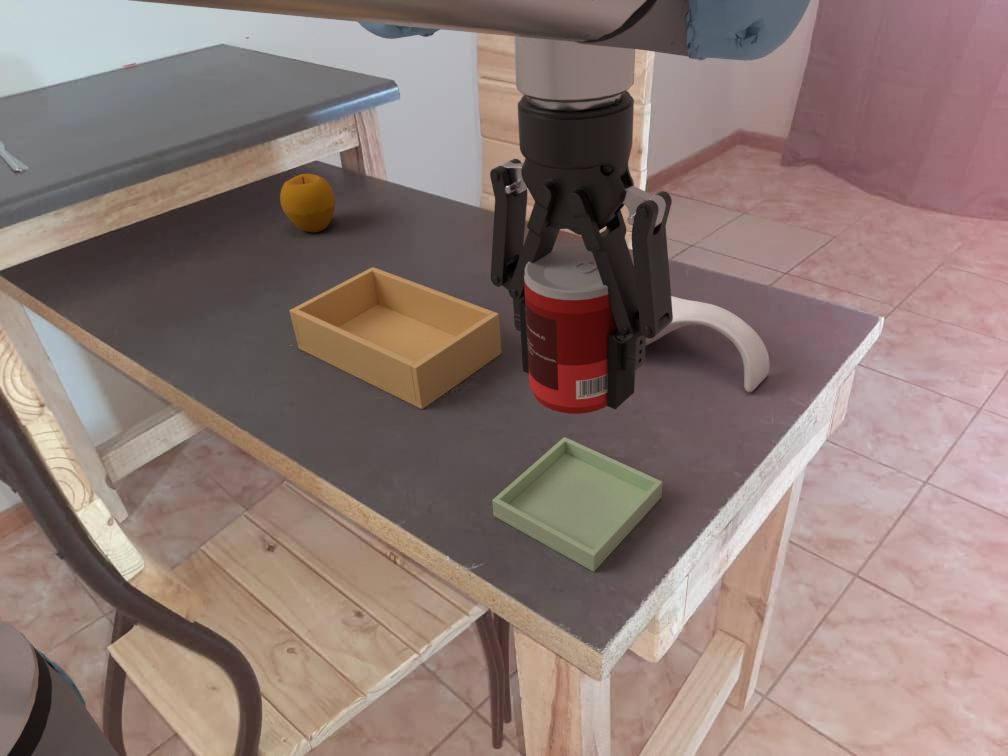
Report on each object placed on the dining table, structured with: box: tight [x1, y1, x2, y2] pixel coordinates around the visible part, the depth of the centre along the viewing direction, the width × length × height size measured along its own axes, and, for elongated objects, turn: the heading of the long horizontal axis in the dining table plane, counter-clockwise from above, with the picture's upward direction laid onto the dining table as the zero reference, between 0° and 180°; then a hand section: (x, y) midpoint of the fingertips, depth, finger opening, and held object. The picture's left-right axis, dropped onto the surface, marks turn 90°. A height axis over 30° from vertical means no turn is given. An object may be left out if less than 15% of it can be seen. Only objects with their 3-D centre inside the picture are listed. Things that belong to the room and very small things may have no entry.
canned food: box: [524, 244, 617, 415], centre depth 60 cm, size 8×8×11 cm
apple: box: [279, 173, 336, 233], centre depth 124 cm, size 8×8×9 cm
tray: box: [491, 436, 663, 573], centre depth 70 cm, size 11×11×2 cm
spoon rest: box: [646, 295, 771, 393], centre depth 89 cm, size 24×12×7 cm, turn 51°
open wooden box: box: [289, 266, 502, 410], centre depth 93 cm, size 22×14×6 cm, turn 50°
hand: (577, 381), depth 63 cm, fingers closed on canned food, 8 cm apart
